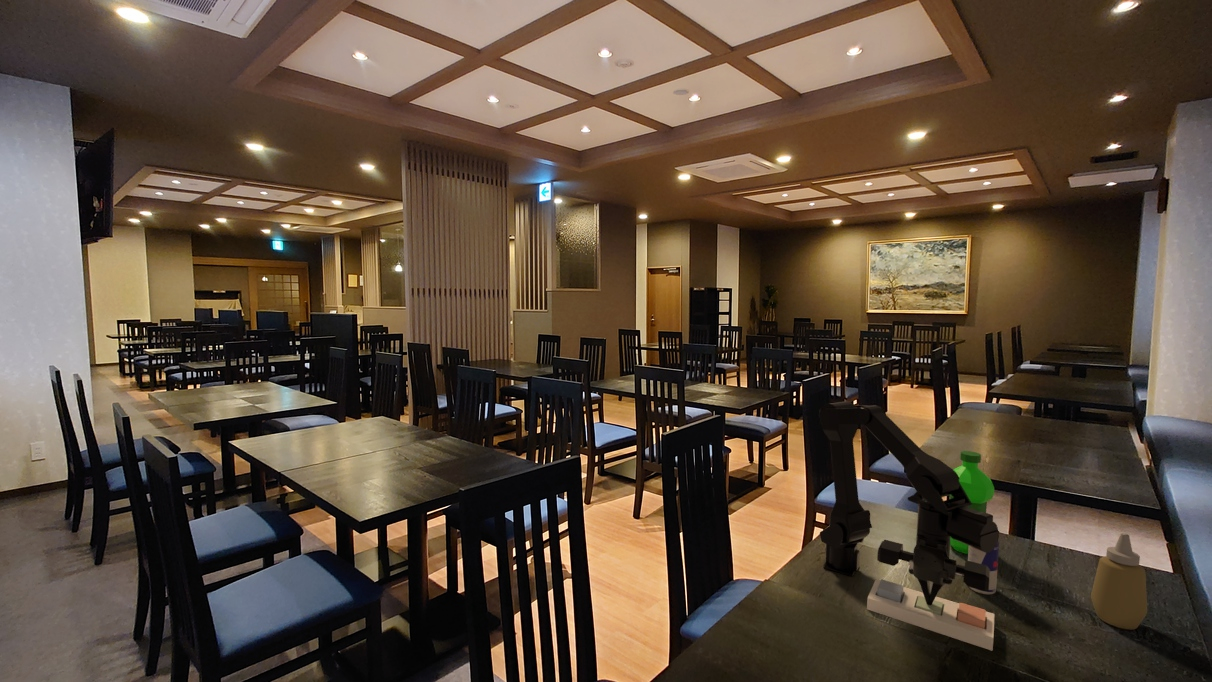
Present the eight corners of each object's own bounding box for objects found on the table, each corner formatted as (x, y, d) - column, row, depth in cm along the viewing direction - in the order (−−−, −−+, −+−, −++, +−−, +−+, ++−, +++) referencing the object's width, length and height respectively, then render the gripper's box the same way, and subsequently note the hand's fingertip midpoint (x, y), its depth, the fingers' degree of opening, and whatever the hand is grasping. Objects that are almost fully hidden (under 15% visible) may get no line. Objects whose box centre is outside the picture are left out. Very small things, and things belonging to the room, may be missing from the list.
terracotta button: (957, 622, 101) (958, 612, 101) (959, 611, 105) (959, 602, 105) (984, 630, 99) (985, 620, 99) (985, 619, 102) (985, 610, 102)
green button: (915, 614, 106) (916, 605, 106) (918, 604, 109) (918, 595, 109) (940, 622, 103) (940, 612, 103) (942, 612, 107) (942, 602, 106)
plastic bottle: (933, 538, 140) (938, 446, 137) (978, 541, 138) (984, 448, 135) (950, 556, 130) (956, 458, 128) (998, 561, 128) (1005, 461, 126)
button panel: (866, 609, 109) (867, 597, 109) (875, 589, 116) (876, 578, 116) (992, 650, 96) (993, 638, 96) (993, 625, 103) (994, 613, 103)
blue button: (877, 597, 110) (877, 588, 110) (880, 588, 113) (881, 579, 113) (899, 604, 107) (900, 595, 107) (903, 594, 111) (903, 585, 110)
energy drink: (1000, 596, 113) (1004, 543, 112) (973, 593, 114) (976, 540, 113) (988, 583, 119) (991, 531, 117) (961, 580, 120) (965, 529, 118)
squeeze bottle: (1135, 639, 99) (1144, 548, 98) (1081, 615, 107) (1089, 530, 105) (1152, 626, 103) (1162, 538, 101) (1099, 604, 110) (1107, 522, 108)
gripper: (873, 531, 104) (870, 606, 105) (990, 560, 92) (984, 644, 94) (884, 512, 112) (880, 581, 114) (992, 536, 101) (986, 613, 103)
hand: (929, 603), depth 106 cm, fingers closed, pressing on green button
